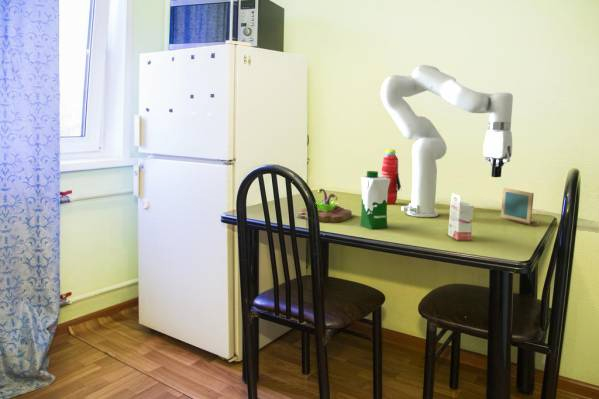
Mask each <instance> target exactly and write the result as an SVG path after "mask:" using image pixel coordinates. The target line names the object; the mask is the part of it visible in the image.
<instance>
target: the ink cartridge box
mask: <svg viewBox="0 0 599 399" xmlns="http://www.w3.org/2000/svg"><path fill="white" fill-rule="evenodd" d="M455 198H456V199H455ZM461 199H462V196H461V195H458V194H456V193H453V192H452V193H451V196H450V203H449V217H448V230H447V231H448V233H447V234H448V236H450V237H451V238H452V239H454V240H456V241H472V234H473V232H472V230H473V217H474V205H472V204H470V203H467V202H465V201H462V200H461Z"/></svg>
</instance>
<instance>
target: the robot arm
mask: <svg viewBox="0 0 599 399" xmlns="http://www.w3.org/2000/svg"><path fill="white" fill-rule="evenodd" d="M427 91H428V92H430V93H432V94H434V95H436V96H438V97H440V98H441V99H444V100H445V101H447V102H448V103H450V104H451V105H454V106H455V107H458V108H460V109H462V110H464V111H466V112H467V113H468V112H469V113H471V114H489V116H488V124H487V127H488V130H486V133H485V135H484V141H483V149H482V151H483V152H482V155H483V157H485V160H486V161H487V162H489V163H490V166H491V174H490V176H491V177H492V178H501V177H502V169H503V167H504V165H505V164H506V163H510V161H511V158H512V155H513V135H512V130H511V129H512V117H513V116H512V114H513V102H514V95H513V94H512V93H510V92H494V93H487V92H479V91H476V90H473V89H471V88H468V87H466V86H465V85H462V84H461V83H459V82H458V81H457V79H456V78H455V77H453V75H449V74H447V73H444V72H442V71H441V70H440V69H439V68H438V67H436V66H433V65H428V64H421V65H418V66H416V67H415V68H414V69H413V71H412V73H411V75H408V76H407V75H399V74H394V75H390V76H388V77H387V78H386V79H385V80H384V81H383V82H382V85H381V88H380V99H381V102H382V104H383V106H384V108H385V110H386V111H387V112H388V114H389V116H390V117H391V118H392V121H393V122H394V123H395V125H396V126H397V128H398V130H399V131H400V132H401V134H402V135H403V137H404V138H405V139H408V140H416V141H415V142H414V143H413V144H412V148H411V160H412V179H411V180H412V181H411V202H409V203H408V204H407V205H402V206H401V207H400V210H401V211H402V212H406V214H407V215H409V216H411V217H416V218H437V217H438V216H439V211H436V195H437V181H438V180H437V179H438V178H437V177H438V176H437V175H438V169H437V168H438V167H437V160H440V159H443V157H444V156H445V155H446V153H447V149H448V148H447V143H446V141H445V140H444V138H443V137H442V135H441V133H440V132H439V131H438V130H437V128H436V126H435V125H434V124H433V122H432V121H431V120H430V119H429V118H427V117H426V116H421V115H420V116H419V115H417V114H416V113H415V111H414V110H413V109H412V107H411V105H410V104H409V103H408V102H407V101H406V100H405V99H404V98H409V97H413V96H416V95H418V94H421V93H423V92H424V93H425V92H427Z"/></svg>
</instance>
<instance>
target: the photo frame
mask: <svg viewBox="0 0 599 399" xmlns="http://www.w3.org/2000/svg"><path fill="white" fill-rule="evenodd" d="M534 195H535V193H534V192H529V191H524V190H518V189H514V188H508V187H503V188H502V200H501V213H500V217H501V218H502V217H505V218H509V219H513V220H517V221H521V222H525V223H531V220H532V217H533V216H532V215H533V205H534Z"/></svg>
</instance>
